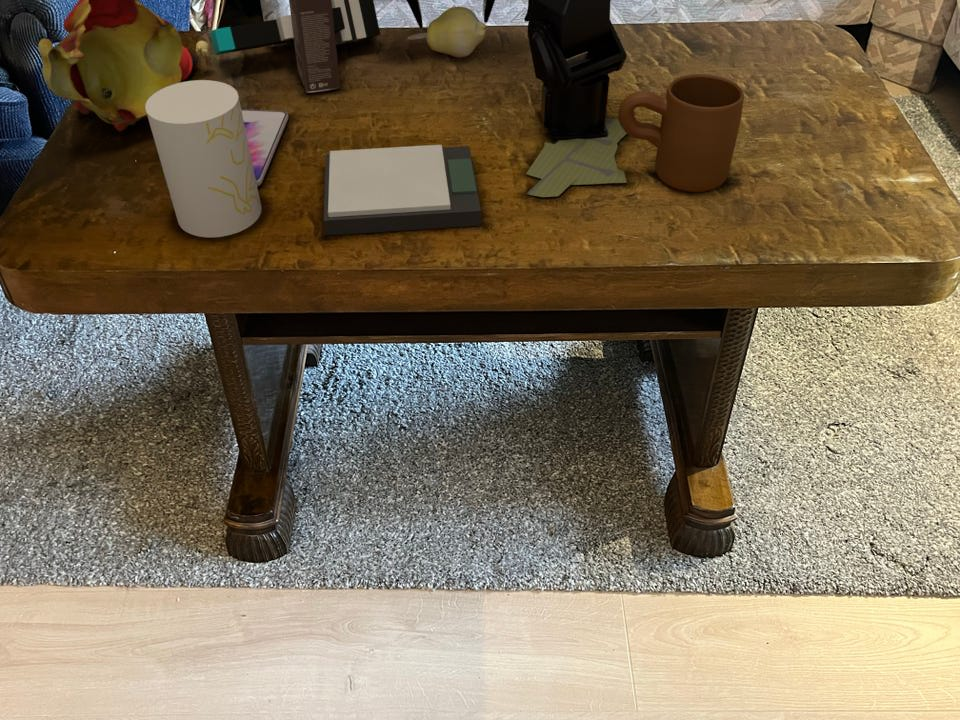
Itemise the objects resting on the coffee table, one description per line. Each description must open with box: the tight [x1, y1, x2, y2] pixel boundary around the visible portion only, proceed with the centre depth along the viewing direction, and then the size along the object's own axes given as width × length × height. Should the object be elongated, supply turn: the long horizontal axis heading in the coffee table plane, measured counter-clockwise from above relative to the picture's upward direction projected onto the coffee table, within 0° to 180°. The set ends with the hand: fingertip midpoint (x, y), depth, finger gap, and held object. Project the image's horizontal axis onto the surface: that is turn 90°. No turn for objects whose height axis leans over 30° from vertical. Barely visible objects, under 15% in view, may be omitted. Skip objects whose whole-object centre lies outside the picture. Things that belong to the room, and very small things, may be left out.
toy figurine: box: [179, 40, 210, 82], centre depth 107 cm, size 8×4×8 cm
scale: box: [323, 144, 482, 236], centre depth 89 cm, size 15×12×2 cm
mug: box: [617, 73, 745, 193], centre depth 89 cm, size 12×8×9 cm, turn 87°
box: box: [288, 0, 341, 94], centre depth 104 cm, size 6×4×12 cm
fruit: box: [407, 5, 488, 59], centre depth 111 cm, size 6×6×10 cm
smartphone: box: [241, 108, 289, 187], centre depth 96 cm, size 7×1×15 cm
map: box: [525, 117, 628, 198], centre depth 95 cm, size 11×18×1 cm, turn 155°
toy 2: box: [209, 0, 381, 56], centre depth 111 cm, size 10×5×20 cm
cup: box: [145, 79, 262, 238], centre depth 84 cm, size 8×8×12 cm
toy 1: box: [37, 0, 184, 132], centre depth 96 cm, size 15×15×13 cm
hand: (453, 24), depth 111 cm, fingers open, 8 cm apart
